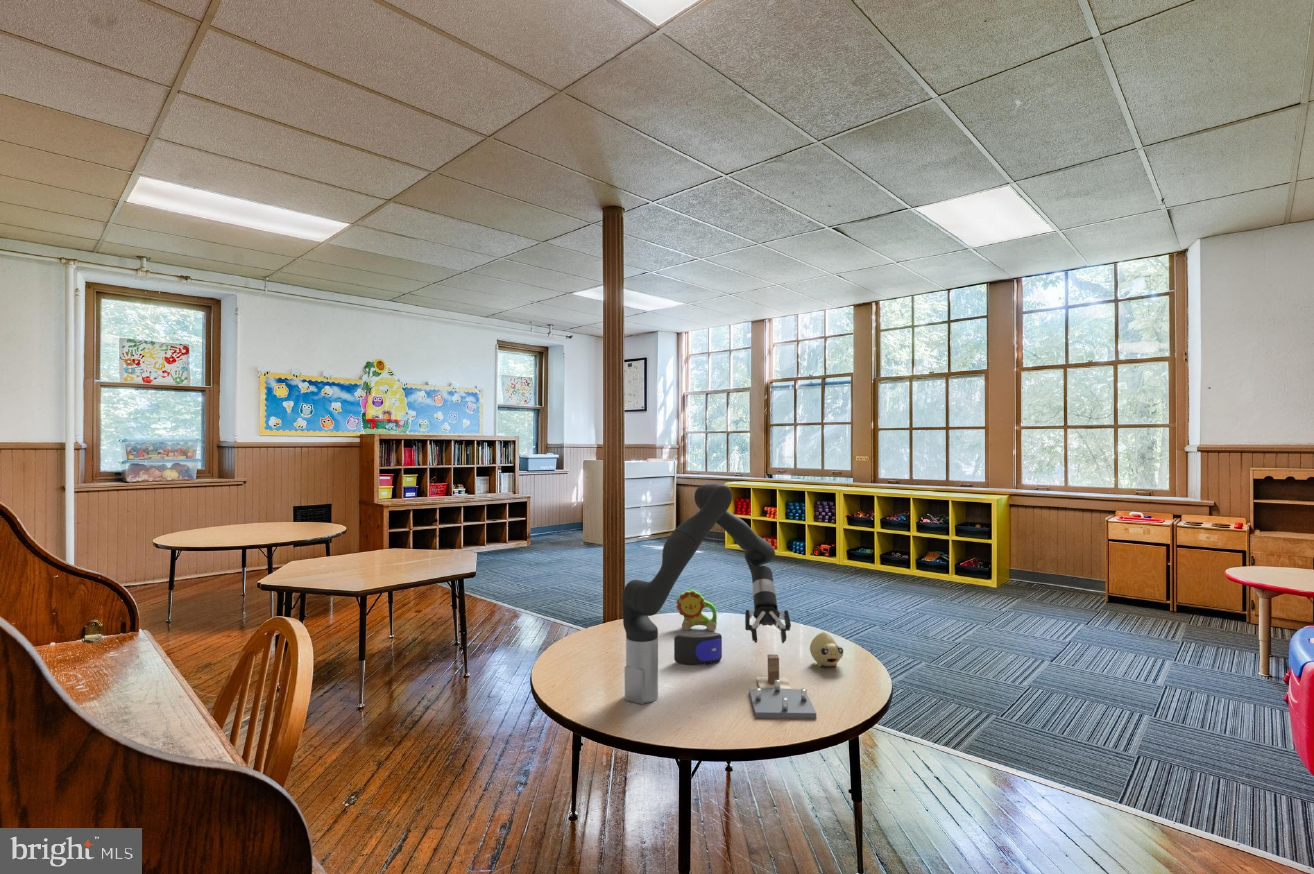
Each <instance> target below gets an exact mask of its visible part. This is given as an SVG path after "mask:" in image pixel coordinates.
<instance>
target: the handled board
mask: <svg viewBox="0 0 1314 874" xmlns="http://www.w3.org/2000/svg"><path fill="white" fill-rule="evenodd" d="M775 680H780V689H792V687H791V685H790V683H789V681H788V679H787V677H785V676H780V657H779V654H773V653H771V654H767V676H757V677H756V682H757V684H758V688H760V689H775Z"/></svg>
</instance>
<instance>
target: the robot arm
mask: <svg viewBox="0 0 1314 874" xmlns="http://www.w3.org/2000/svg"><path fill="white" fill-rule="evenodd" d="M693 498H694V502H695V505H696V507H697V509H699V511H697V512H696V513H695V514H694V515H692V516H691V517H690V518H689V517H688V519H686V520H685V521H683V522H682V523H680V524H679V525H678V526H677V527H675V529H674V530H673V531H672V533H671V534H670V535H669V536H668V538H667V539H666V541H665V542H664V544H663V548H662V555H661V556H662V557H661V567H660V568H659V571H658V572H657V574H656V575H655V576H654V577H653V579H652V580H651V581H645V580H639V579H632V580H629V581H628V582H627V583H626V584H625V586H624V589H623V592H622V596H621V597H622V598H621V601H622V602H621V603H622V604H621V606H622V607H621V609H622V623H623V624H622V625H623V629H624V630H625V635H626V636H625V644H626V645H625V666H624V700H625V701H628V702H631V703H636V704H638V705H639V704H640V705H644V704H647V703H651V702H654V701H656V700H657V699H658V698H659V629H658V626H657V625H656V624H655V623H654V622H653V621H652V620H651V619H650V618H649V617H651V616H655V615H656V614H658V612H660V610H661V609H662V607H663V606H664V604H665V603H666V600H667V599H668V596H669V595H670V592H671V591H672V589H673V588H674V586H675V584H676V582H677V581H678V578H679V577H680V575H682V573H683V571H684V569H685V568H686V567H687V565H688V564H689V562H690V560H691V559H692V558H693V557H694V555H695V553H696V552H697V550H698V549H699V547H700V546H701V544H702V542H703V541H704V540H705V539H706V537H707V535H708V534H709V533H710V532H711V530H712V529H713V527H714V526H715V525H716V524H717V525H718V526H720V527H721V528H722V530H724V531H725V532H726V533H727V534H728V535H729V536H730V537H731V538H732V540H733V541H734V542H735V543H736V544H737V546H739V548H740V549H741V550H743V551H745V552H744V559H745V562H746V564H747V566H748V569H749V570H750V571H749V572H750V574H751V582H752V599H753V600H752V601H753V610H754V611H750V610H749V609H746V610H745V613H744V623H745V625H744V626H745V627H744V628H745V631H750V632H751V641H753V642H754V644H756V643H758V635H757V634H758V633H757V630H758V628H759V627H760V626H764V627H765V626H774V627H775V628H776V629H778V630H779V631H780V638H781V639H780V640H781V644H784V643H785V642H786V640H787V631H788V632H789V631H791V626H792V625H791V619H790V615H789V611H788V610H787V609H786V610H784V611H780V610H779V608H778V602H777V601H778V600H777V593H776V592H777V591H776V588H775V583H774V578H773V577H774V576H773V571H772V569H771V568H770V567H769V566H767V565H766V564H768V563H771V562H773V561H774V560H775V558H776V551H775V549H774V547H773V545H772V544H771V543H770V542H769V541H767V540H765V539H764V538H763V537H761V536H759V535H758V534H756V533H755V531H754V530H753V529H752V528H751V527H750V526H749V524H747V522H745V521H744V520H743V519H741V518H740V517H738V516H737V515H735V514H733V513H732V512H731V511H729V510H728V509H729V508H730V506H731V504H732V501H733V492H732V489H731V488H730V487H729V486H728V485H727V484H724V483H705V484H701V485H699V486H698V487H697V488H696V489H695V492H694V497H693ZM753 617H754V619H755V621H754V623H753V624H751V622H750V621H751V619H752V618H753ZM780 617H781V618H782V619H783V620H784V623H783V622H782V621H781V619H780Z"/></svg>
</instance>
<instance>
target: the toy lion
mask: <svg viewBox="0 0 1314 874" xmlns="http://www.w3.org/2000/svg"><path fill="white" fill-rule="evenodd" d="M675 607H676V610H677V611H678V613H679V615H681V616H683V620H682V624H681V627H682V629H683V630H684V631H689V630H691V628H692V627H695V626H703V627H706V628H707V630H708V631H709V632H714V631H716V629H717V624H718V622H717V620H718V617H717V616H718V615H717V608H716V606H715V605H714V604H713V603H712V602H710V601H708V600H705V597H704V596H702V593H701V592H699V591H698V592H697V591H696V590H695V589H691V590H685V591H684V592H681V593H680V595H679V596H678V597H677V599H676V606H675ZM705 608H709V609H710V610H711V612H712V618H709V617H708V616H706V614H703V613H702V611H703V610H704V609H705Z"/></svg>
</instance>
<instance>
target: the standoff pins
mask: <svg viewBox="0 0 1314 874" xmlns="http://www.w3.org/2000/svg"><path fill="white" fill-rule="evenodd" d="M754 689H755V700H756V701H761V689H760V688H759V687H756V688H754ZM800 689H801V701H803V702H806V701H807V695H808V693H807V692H808V691H807V689H806V688H800ZM775 692H780V680H775ZM782 711H788V698H782Z"/></svg>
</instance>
